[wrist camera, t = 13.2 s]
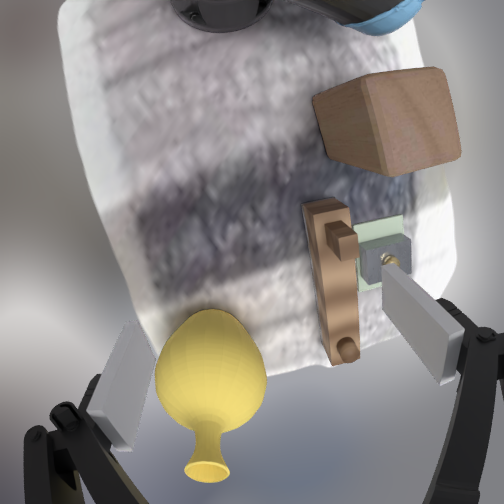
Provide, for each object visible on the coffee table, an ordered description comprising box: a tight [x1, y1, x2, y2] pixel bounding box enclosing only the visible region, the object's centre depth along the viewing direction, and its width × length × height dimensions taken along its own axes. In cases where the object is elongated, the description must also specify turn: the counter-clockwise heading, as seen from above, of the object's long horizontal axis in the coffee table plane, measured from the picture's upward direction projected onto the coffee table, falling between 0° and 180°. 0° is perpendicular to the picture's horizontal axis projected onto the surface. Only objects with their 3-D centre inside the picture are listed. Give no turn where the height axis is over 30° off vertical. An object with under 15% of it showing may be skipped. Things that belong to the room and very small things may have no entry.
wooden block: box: [312, 67, 461, 177], centre depth 35 cm, size 10×10×20 cm
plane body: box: [301, 197, 360, 366], centre depth 47 cm, size 26×5×13 cm, turn 12°
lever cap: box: [359, 233, 411, 285], centre depth 49 cm, size 6×8×5 cm
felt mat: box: [352, 214, 404, 292], centre depth 51 cm, size 12×9×1 cm
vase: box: [155, 309, 267, 483], centre depth 42 cm, size 16×16×28 cm
